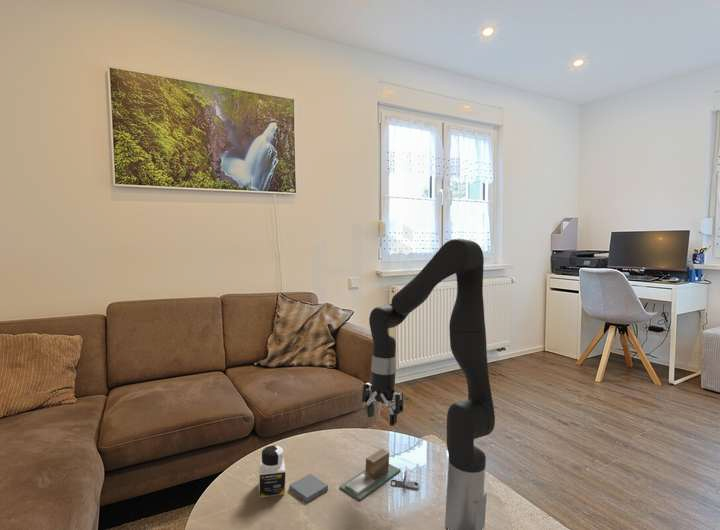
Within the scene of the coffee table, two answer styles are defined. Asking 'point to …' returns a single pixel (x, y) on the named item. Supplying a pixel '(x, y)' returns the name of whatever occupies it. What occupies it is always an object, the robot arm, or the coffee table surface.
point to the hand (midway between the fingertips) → (381, 420)
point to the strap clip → (408, 483)
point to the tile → (308, 487)
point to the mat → (378, 482)
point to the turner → (370, 472)
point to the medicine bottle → (272, 472)
